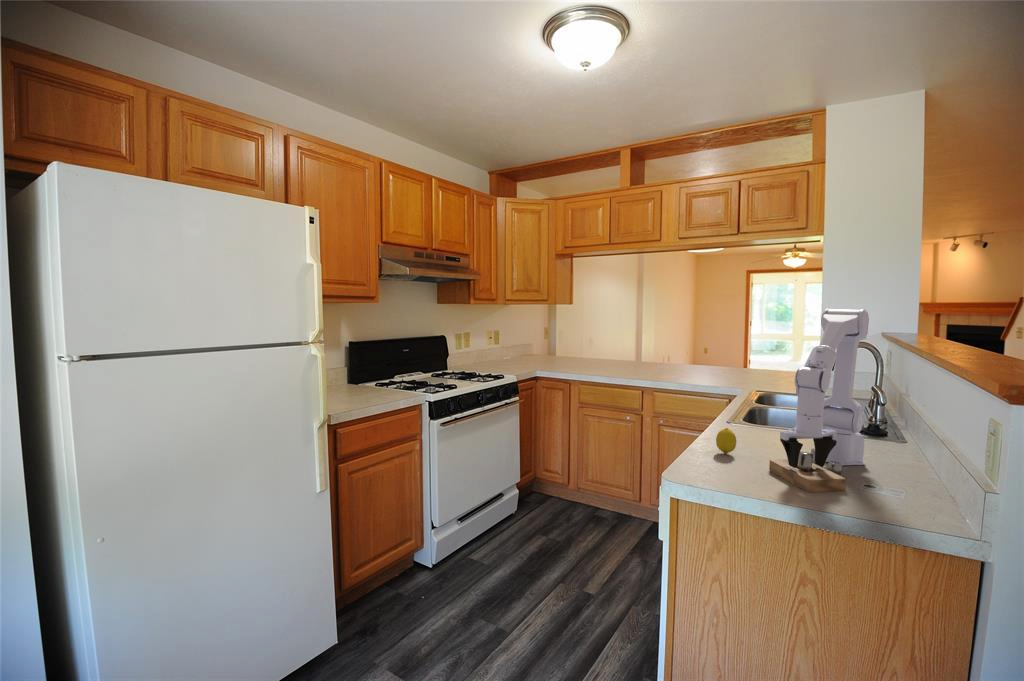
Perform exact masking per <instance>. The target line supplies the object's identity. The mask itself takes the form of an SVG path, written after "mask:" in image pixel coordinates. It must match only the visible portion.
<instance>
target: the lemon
mask: <svg viewBox="0 0 1024 681" xmlns="http://www.w3.org/2000/svg"><path fill="white" fill-rule="evenodd" d="M736 436H737V435H736V434H735V432H734V431H733V430H731V429H729V428H728V427H726V428H723V429H720V430H719V431H718V433H717V435H716V439H715V443H716V447H717V449H718V450H719V451H720V452H722V453H723V454H724V455H728V454H729V453H731V452H733V451H734V450H735V448H736V446H737V437H736Z"/></svg>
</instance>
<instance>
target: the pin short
mask: <svg viewBox="0 0 1024 681" xmlns="http://www.w3.org/2000/svg"><path fill="white" fill-rule="evenodd" d="M842 468H843V466H842V464H841V463H839V462H835V461H828V462H827V470H829V471H831V472H833V473H835V474H837V475H840V476H842Z"/></svg>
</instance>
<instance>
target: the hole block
mask: <svg viewBox="0 0 1024 681" xmlns="http://www.w3.org/2000/svg"><path fill="white" fill-rule="evenodd" d="M798 462H799V460H798ZM768 467H769V469H768V471H769V470H770V471H772V472H773V473H772V472H771V473H772V474H774V473H775V474H774V475H776V474H777V476H778V475H779V476H780V478H781V477H782V478H781V479H783V478H784V479H783V480H785V481H787V482H789V483H790V482H791V483H790V484H792V483H793V485H795V487H798V488H799V487H800V489H801V488H802V489H801V490H803V491H805V492H806V493H820V492H824V491H825V492H841V491H846V488H847V486H846V485H847V477H844V476H842V475H841V476H840V475H837V474H835V473H833V472H831V471H829V470H827V469H828V468H827V469H826V468H824V467H823V468H822V467H820V466H818V465H816V464H814V463H812V472H804V471H802V470H800V469H798V466H797V468H794V467H792V466H790V465H789V463H788V458H787V459H785V458H784V459H769V466H768ZM770 471H769V472H770ZM779 476H778V477H779Z"/></svg>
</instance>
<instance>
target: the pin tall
mask: <svg viewBox="0 0 1024 681" xmlns="http://www.w3.org/2000/svg"><path fill="white" fill-rule="evenodd" d="M812 460H813V454H812V453H811V452H809V451H801V450H800V454H799V462H798V469H800V470H802V471H804V472H812Z"/></svg>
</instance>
